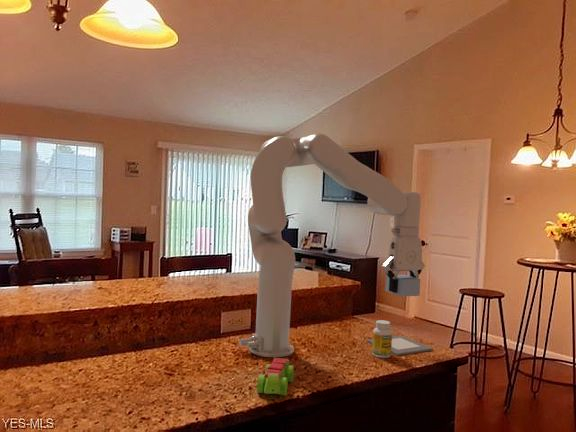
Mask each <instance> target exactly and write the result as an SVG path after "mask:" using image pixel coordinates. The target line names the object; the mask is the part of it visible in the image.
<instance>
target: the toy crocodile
mask: <svg viewBox="0 0 576 432" xmlns="http://www.w3.org/2000/svg"><path fill="white" fill-rule="evenodd" d="M294 368H295V366H294V365H290V360H289V358H282V357H273V361H272V363H270V364H268V363H267V364H266V366H265V372H264V374H259V375H258V378H257V383H256V391H257V392H256V393H258V394H267V395H268V394H273V395H274V394H275V395H279V396H287V393H288V386H289V385H288V384H289V383H293V382H294V376H295V375H294V374H295V371H294V370H295V369H294Z"/></svg>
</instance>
